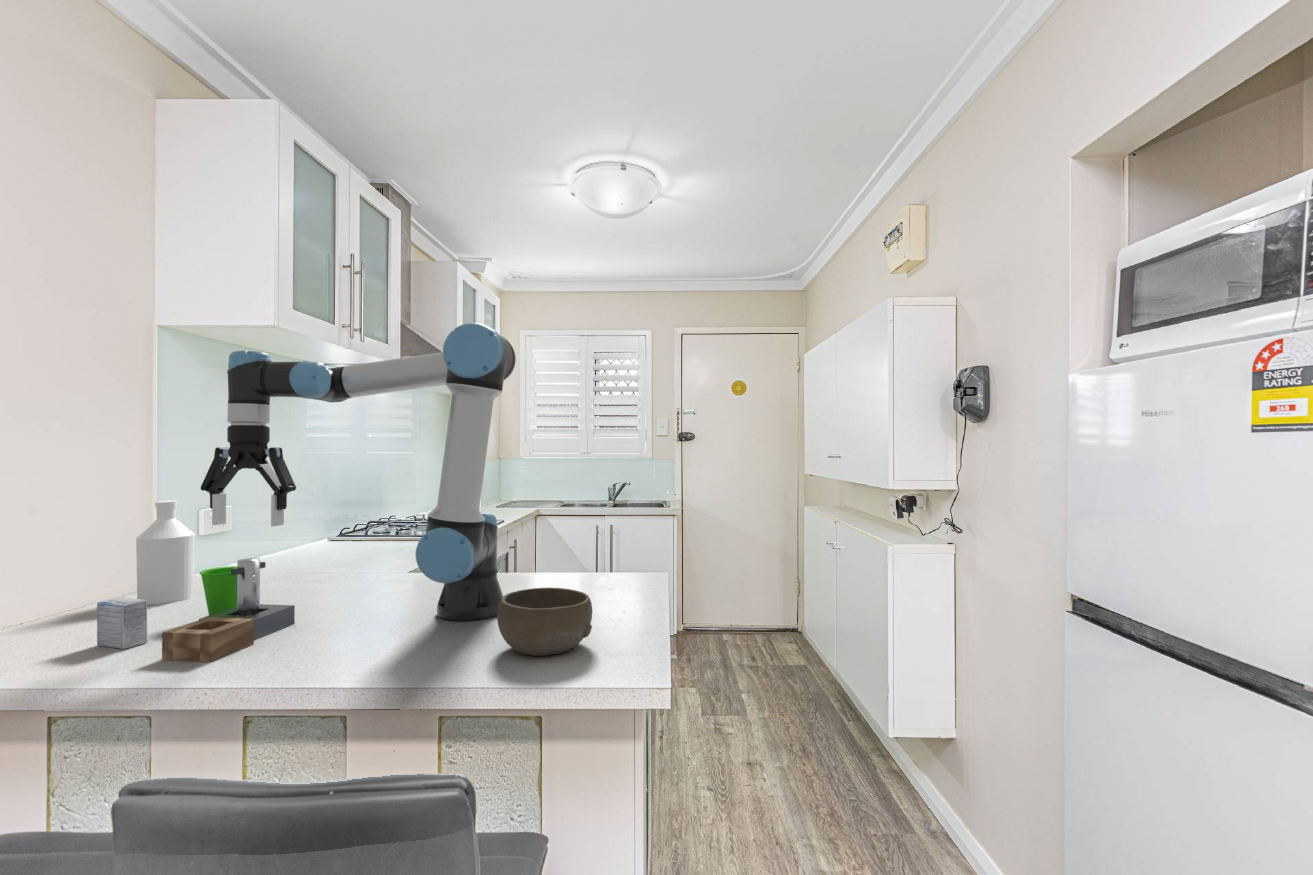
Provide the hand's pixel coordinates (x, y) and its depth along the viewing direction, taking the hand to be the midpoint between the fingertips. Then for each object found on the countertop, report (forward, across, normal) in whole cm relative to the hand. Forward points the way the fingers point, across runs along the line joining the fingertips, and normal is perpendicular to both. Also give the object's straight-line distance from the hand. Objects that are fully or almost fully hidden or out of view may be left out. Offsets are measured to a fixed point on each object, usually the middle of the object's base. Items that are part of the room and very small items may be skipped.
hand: (248, 525), depth 131 cm
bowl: (+22, -66, +4) cm, 70 cm away
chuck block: (+22, 0, 0) cm, 22 cm away
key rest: (+22, -3, +13) cm, 26 cm away
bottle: (+23, +43, -23) cm, 54 cm away
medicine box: (+23, +18, +11) cm, 31 cm away
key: (+22, 0, 0) cm, 22 cm away
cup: (+23, +13, -8) cm, 27 cm away
